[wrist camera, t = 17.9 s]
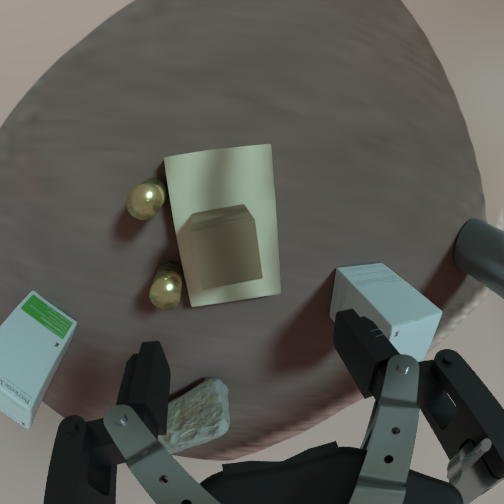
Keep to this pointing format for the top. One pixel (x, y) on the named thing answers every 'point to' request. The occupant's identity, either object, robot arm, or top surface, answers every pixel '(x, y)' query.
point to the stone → (197, 416)
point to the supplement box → (387, 306)
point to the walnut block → (225, 246)
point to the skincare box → (31, 355)
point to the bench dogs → (169, 272)
